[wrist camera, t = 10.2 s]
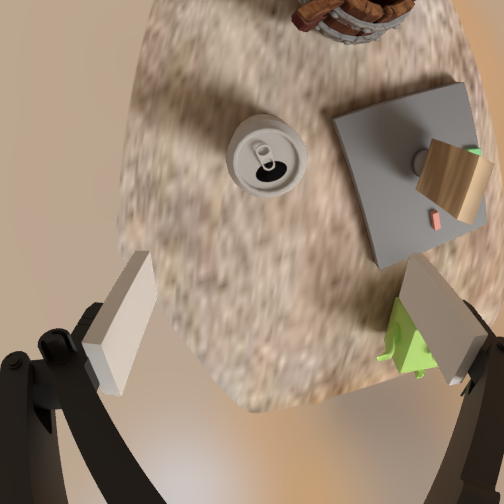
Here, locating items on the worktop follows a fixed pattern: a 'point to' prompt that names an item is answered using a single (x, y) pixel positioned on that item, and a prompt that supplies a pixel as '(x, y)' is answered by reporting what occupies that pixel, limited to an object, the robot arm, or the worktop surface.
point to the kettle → (406, 343)
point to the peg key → (452, 178)
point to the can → (266, 156)
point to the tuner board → (405, 168)
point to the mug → (351, 18)
